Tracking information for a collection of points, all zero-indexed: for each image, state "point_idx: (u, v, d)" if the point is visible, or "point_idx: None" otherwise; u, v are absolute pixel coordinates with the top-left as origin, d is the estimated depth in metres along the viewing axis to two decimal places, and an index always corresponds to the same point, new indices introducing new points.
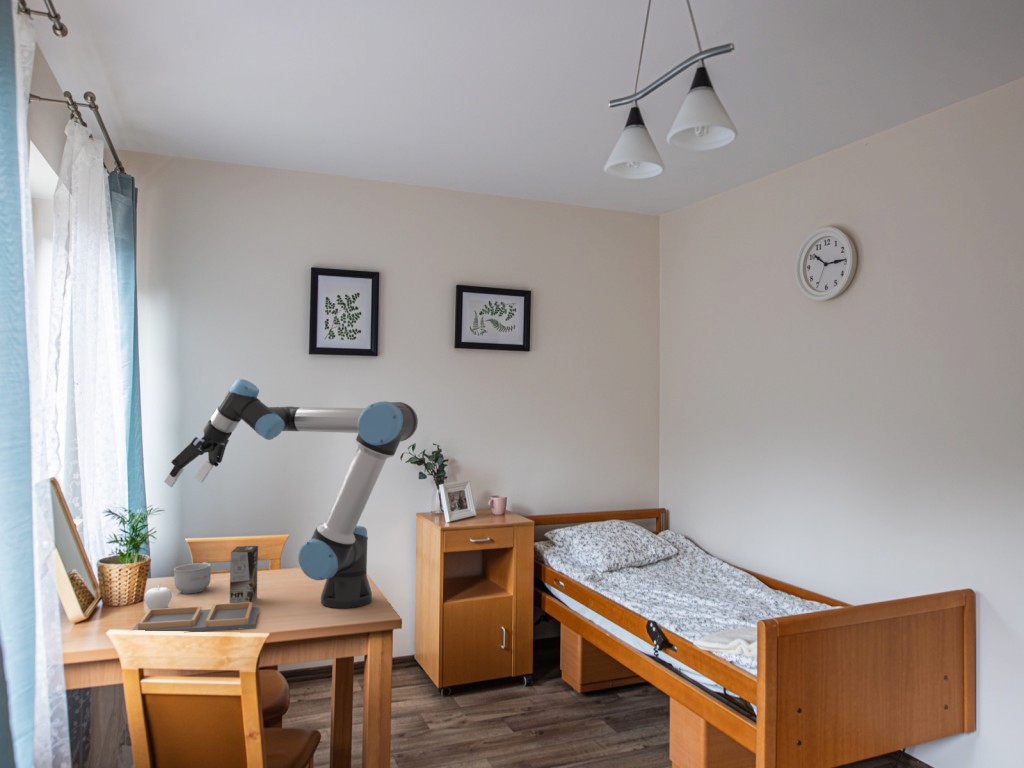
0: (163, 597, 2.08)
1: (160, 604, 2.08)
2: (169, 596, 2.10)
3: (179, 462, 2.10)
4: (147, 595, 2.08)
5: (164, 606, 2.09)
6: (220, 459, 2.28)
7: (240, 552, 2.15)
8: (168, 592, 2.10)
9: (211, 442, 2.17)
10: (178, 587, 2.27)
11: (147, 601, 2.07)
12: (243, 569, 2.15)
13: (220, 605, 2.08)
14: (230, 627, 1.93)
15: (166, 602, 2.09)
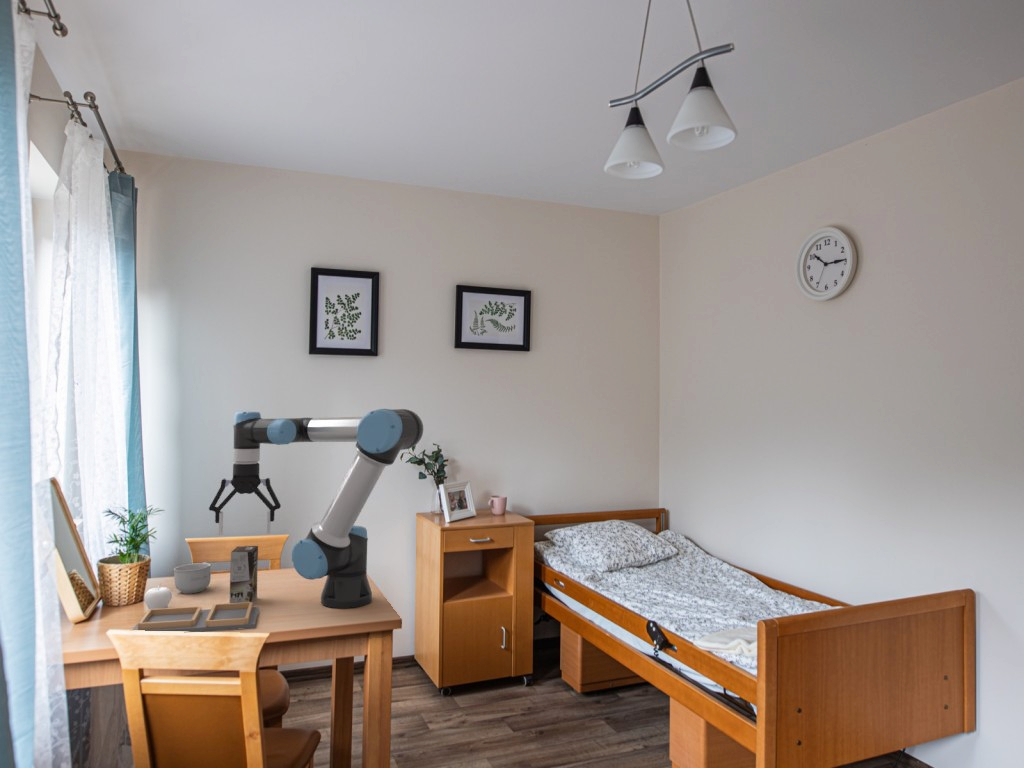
0: (163, 597, 2.08)
1: (160, 604, 2.08)
2: (169, 596, 2.10)
3: None
4: (147, 595, 2.08)
5: (164, 606, 2.09)
6: (276, 503, 2.21)
7: (240, 552, 2.15)
8: (168, 592, 2.10)
9: (240, 480, 2.18)
10: (178, 587, 2.27)
11: (147, 601, 2.07)
12: (243, 569, 2.15)
13: (220, 605, 2.08)
14: (230, 627, 1.93)
15: (166, 602, 2.09)
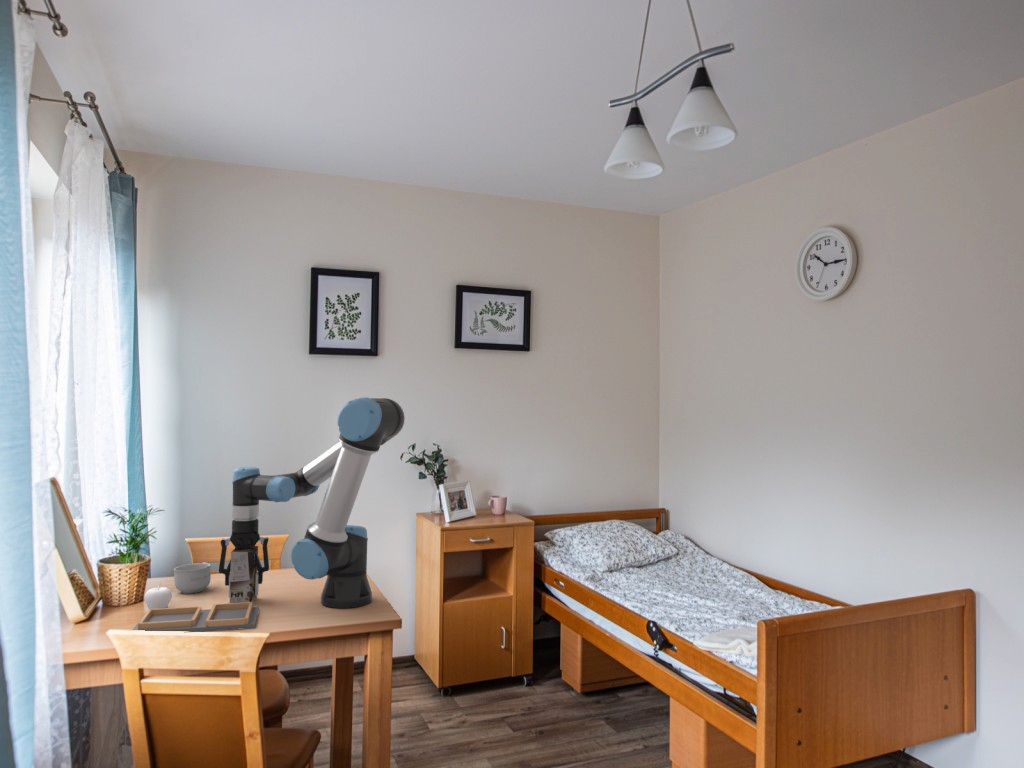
0: (163, 597, 2.08)
1: (160, 604, 2.08)
2: (169, 596, 2.10)
3: (219, 567, 2.17)
4: (147, 595, 2.08)
5: (164, 606, 2.09)
6: (265, 565, 2.20)
7: (240, 552, 2.15)
8: (168, 592, 2.10)
9: (238, 537, 2.18)
10: (178, 587, 2.27)
11: (147, 601, 2.07)
12: (243, 569, 2.15)
13: (220, 605, 2.08)
14: (230, 627, 1.93)
15: (166, 602, 2.09)
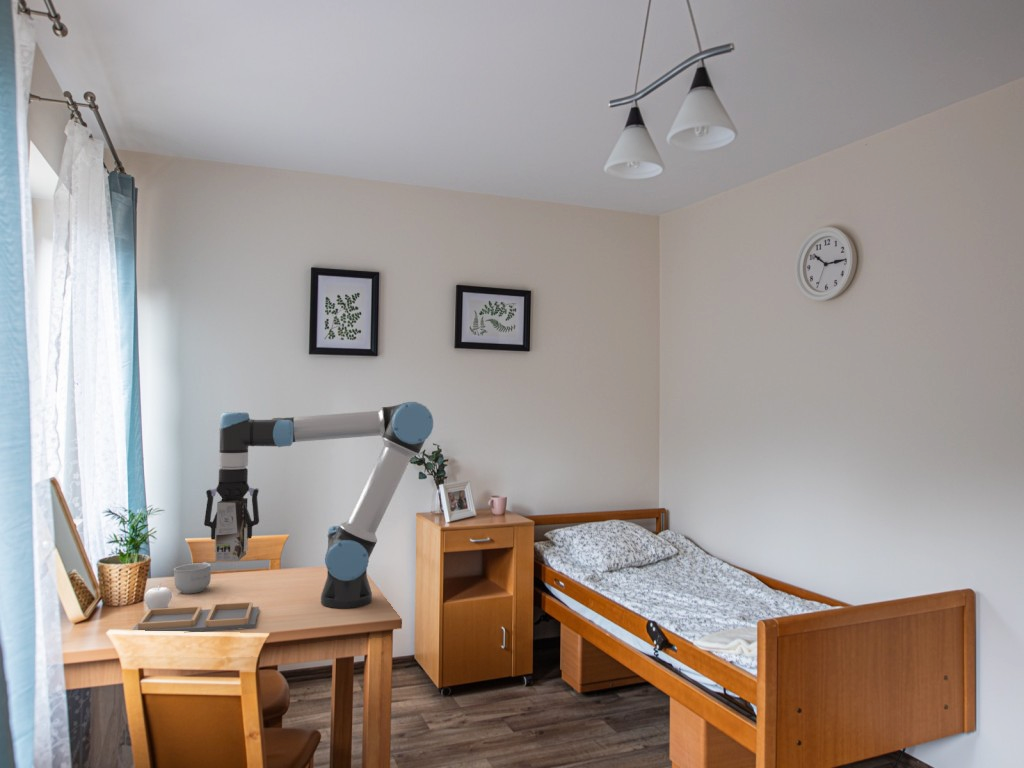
0: (163, 597, 2.08)
1: (160, 604, 2.08)
2: (169, 596, 2.10)
3: None
4: (147, 595, 2.08)
5: (164, 606, 2.09)
6: (255, 518, 2.03)
7: (227, 503, 1.98)
8: (168, 592, 2.10)
9: (225, 487, 2.01)
10: (178, 587, 2.27)
11: (147, 601, 2.07)
12: (231, 521, 1.98)
13: (220, 605, 2.08)
14: (230, 627, 1.93)
15: (166, 602, 2.09)
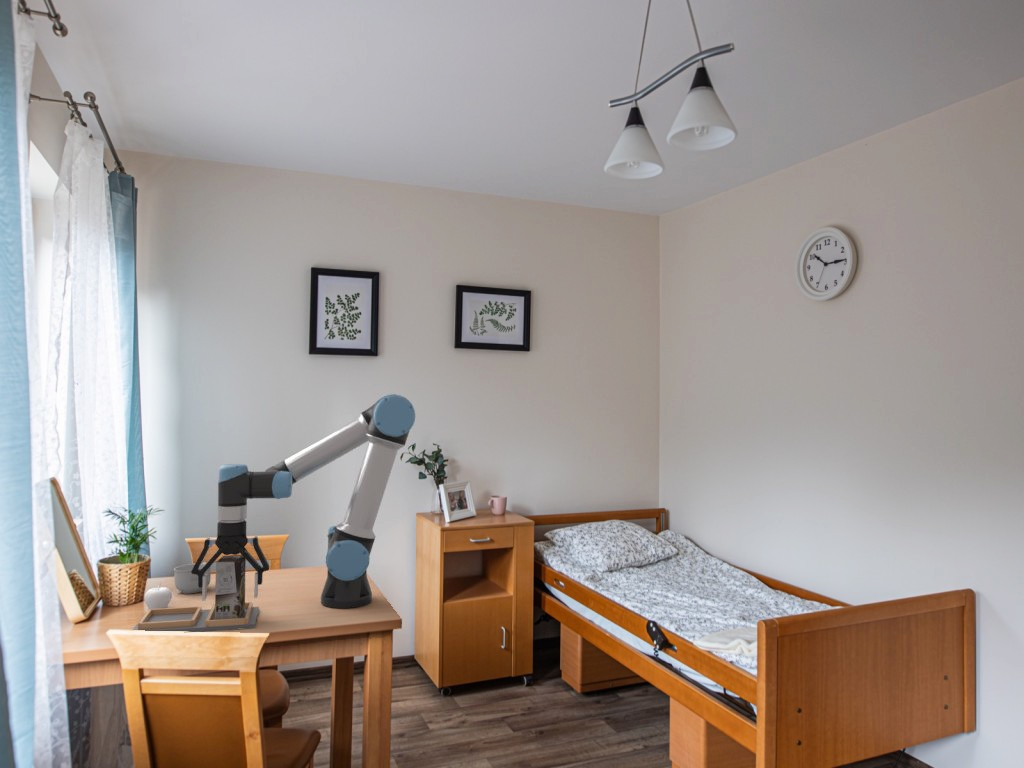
0: (163, 597, 2.08)
1: (160, 604, 2.08)
2: (169, 596, 2.10)
3: (193, 567, 1.98)
4: (147, 595, 2.08)
5: (164, 606, 2.09)
6: (264, 565, 2.03)
7: (226, 562, 1.97)
8: (168, 592, 2.10)
9: (226, 540, 2.00)
10: (178, 587, 2.27)
11: (147, 601, 2.07)
12: (230, 581, 1.97)
13: None
14: (230, 627, 1.93)
15: (166, 602, 2.09)
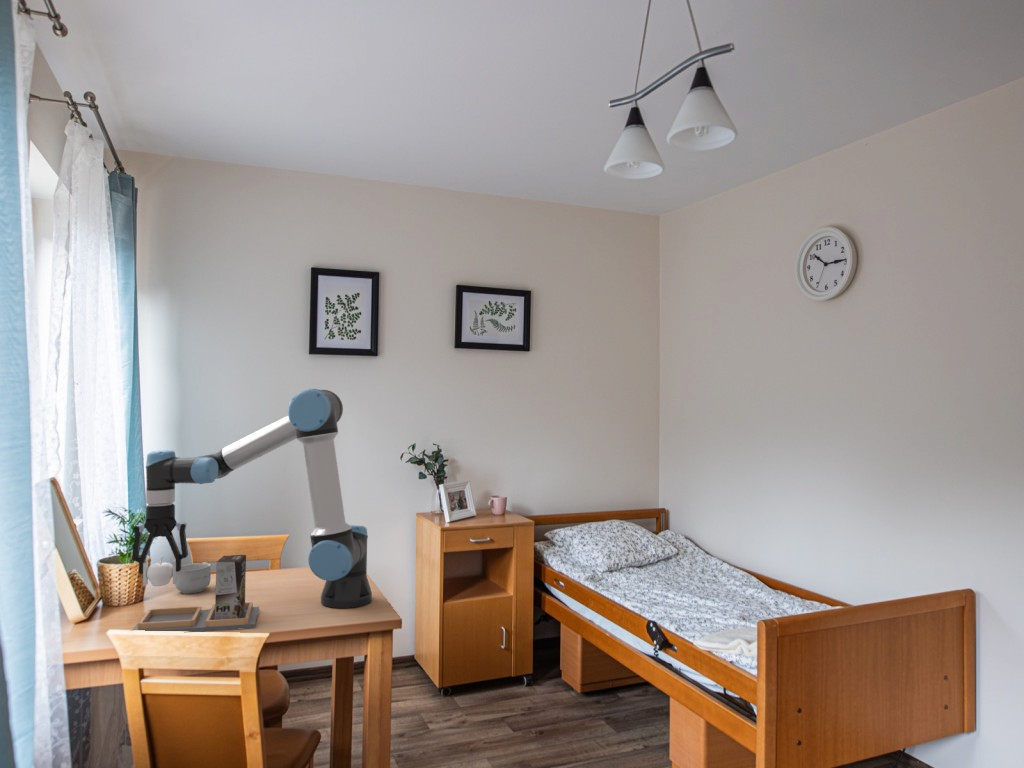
0: (165, 572, 2.08)
1: (162, 579, 2.08)
2: (171, 571, 2.10)
3: (132, 555, 2.08)
4: (149, 570, 2.08)
5: (166, 581, 2.09)
6: (183, 552, 2.11)
7: (227, 562, 1.97)
8: (170, 567, 2.10)
9: (153, 523, 2.09)
10: (178, 587, 2.27)
11: (149, 576, 2.07)
12: (230, 581, 1.97)
13: None
14: (230, 627, 1.93)
15: (169, 576, 2.09)
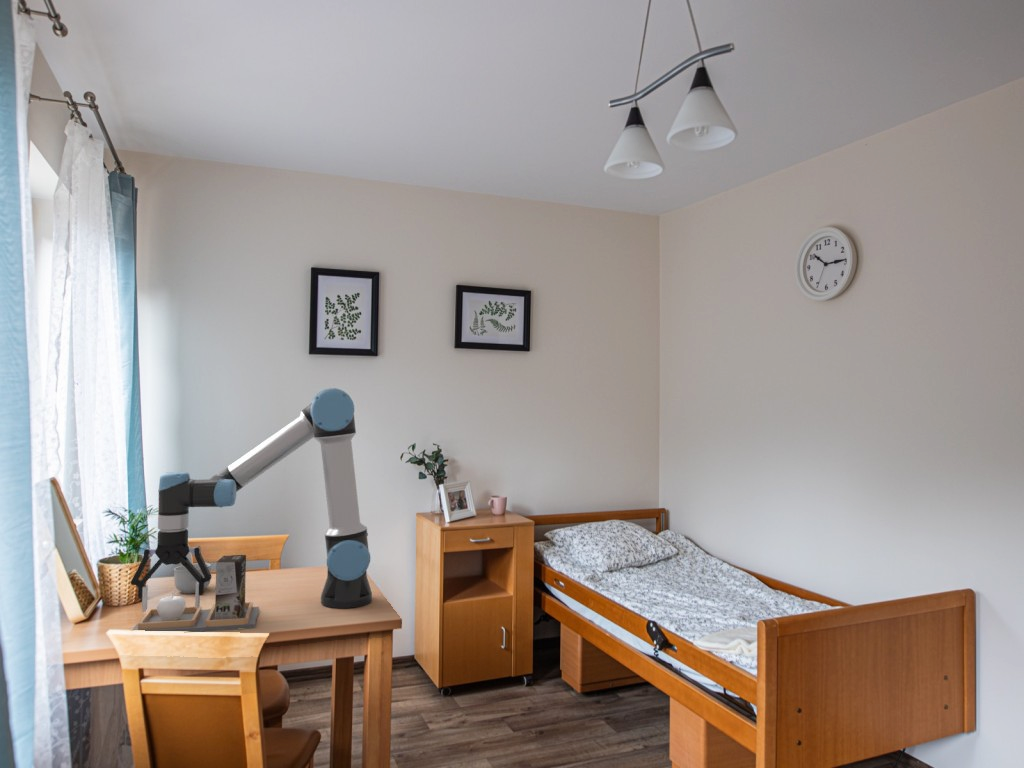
0: (177, 607, 1.95)
1: (173, 614, 1.95)
2: (183, 605, 1.97)
3: (133, 578, 1.94)
4: (160, 604, 1.95)
5: (177, 616, 1.96)
6: (205, 575, 1.99)
7: (226, 562, 1.97)
8: (182, 601, 1.97)
9: (166, 550, 1.96)
10: (178, 587, 2.27)
11: (160, 611, 1.94)
12: (230, 581, 1.97)
13: None
14: (230, 627, 1.93)
15: (180, 612, 1.96)
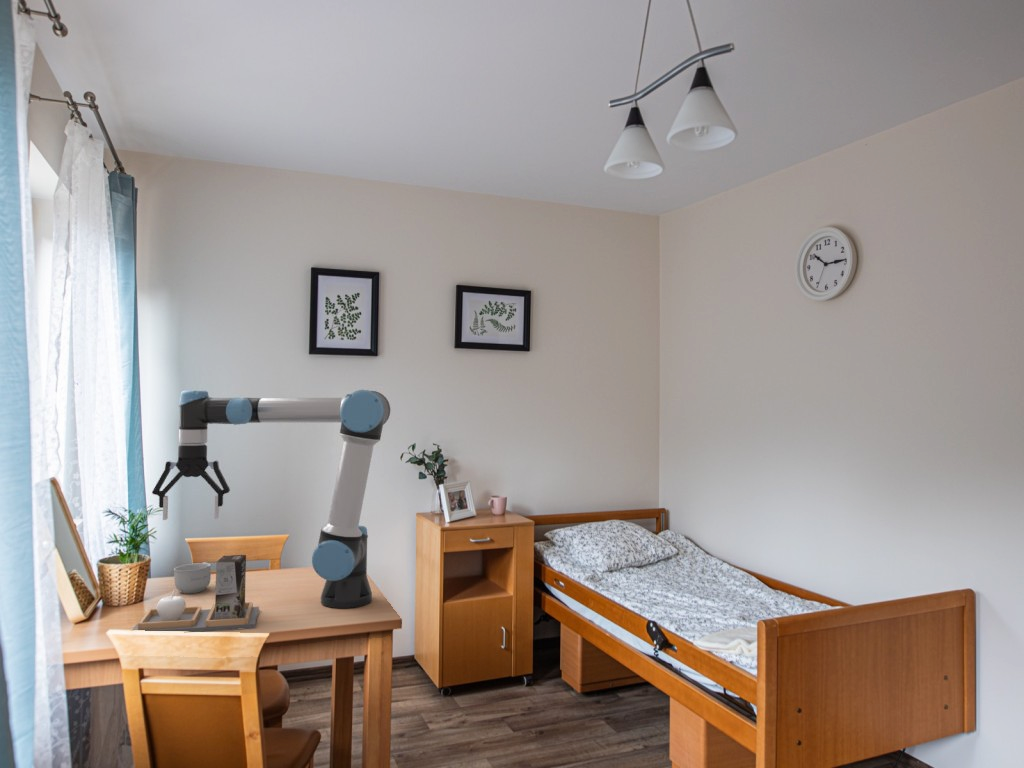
0: (177, 607, 1.95)
1: (173, 614, 1.95)
2: (183, 605, 1.97)
3: (154, 488, 2.05)
4: (159, 605, 1.95)
5: (178, 616, 1.96)
6: (224, 487, 2.10)
7: (226, 562, 1.97)
8: (182, 601, 1.97)
9: (186, 463, 2.07)
10: (178, 587, 2.27)
11: (160, 611, 1.94)
12: (230, 581, 1.97)
13: None
14: (230, 627, 1.93)
15: (180, 612, 1.96)
